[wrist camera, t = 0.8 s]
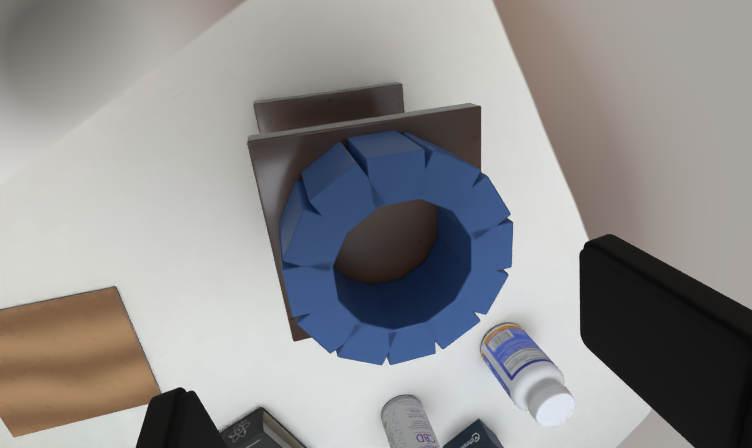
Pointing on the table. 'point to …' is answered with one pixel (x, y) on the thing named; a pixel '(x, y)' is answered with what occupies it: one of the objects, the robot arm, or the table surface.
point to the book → (259, 433)
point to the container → (407, 424)
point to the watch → (475, 438)
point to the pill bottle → (527, 375)
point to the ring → (422, 285)
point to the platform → (336, 124)
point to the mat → (70, 362)
